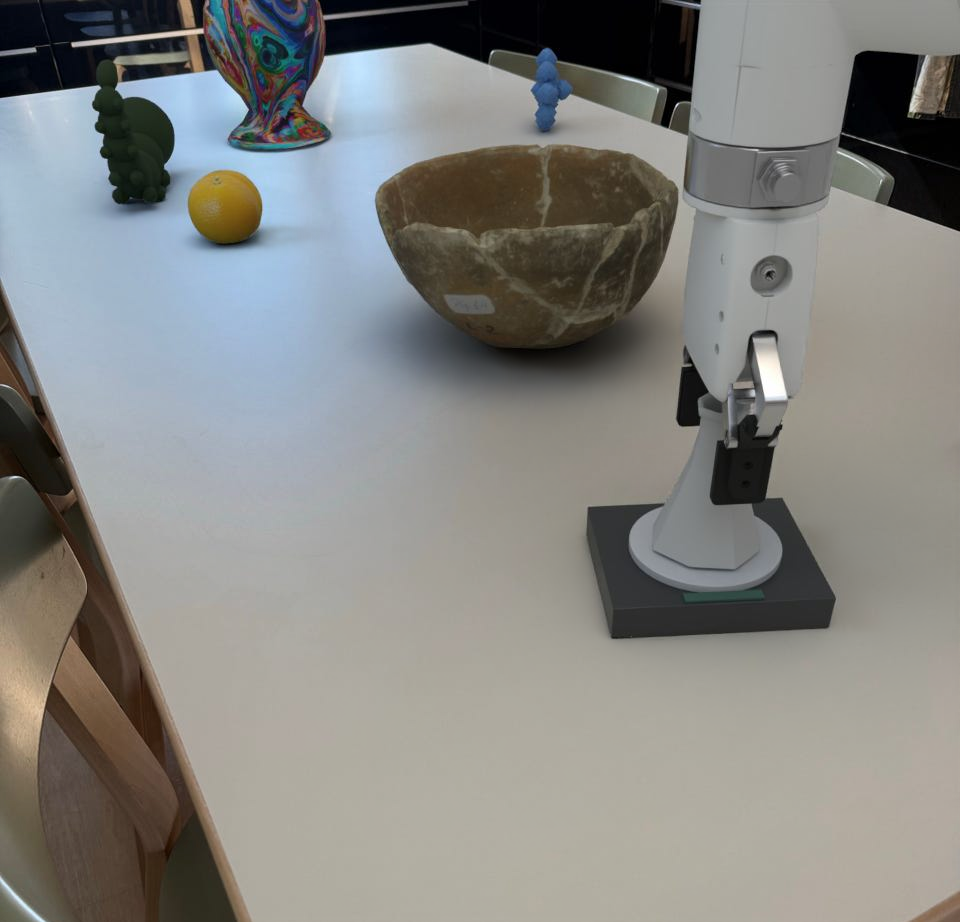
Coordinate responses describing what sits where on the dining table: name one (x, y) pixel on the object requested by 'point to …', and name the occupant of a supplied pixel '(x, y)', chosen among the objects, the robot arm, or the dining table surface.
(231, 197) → the fruit
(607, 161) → the bowl
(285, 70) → the vase
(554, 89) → the grapes
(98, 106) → the toy figurine
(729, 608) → the scale
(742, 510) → the flask
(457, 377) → the dining table surface
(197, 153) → the dining table surface
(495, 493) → the dining table surface
